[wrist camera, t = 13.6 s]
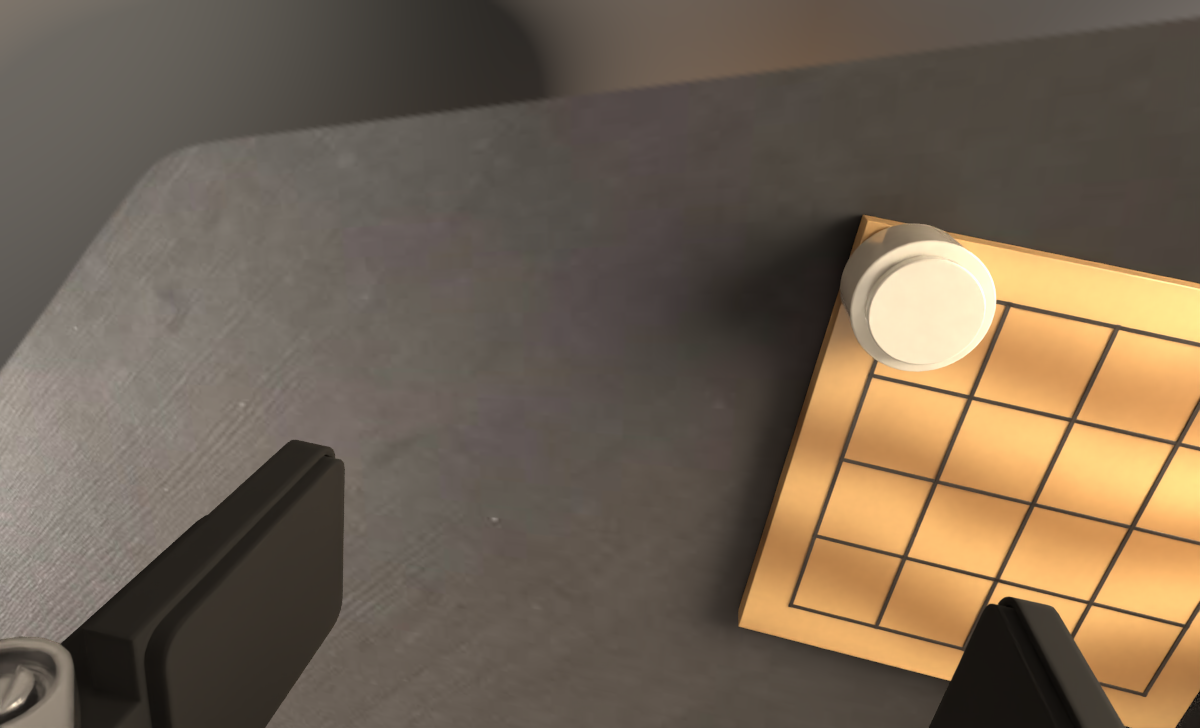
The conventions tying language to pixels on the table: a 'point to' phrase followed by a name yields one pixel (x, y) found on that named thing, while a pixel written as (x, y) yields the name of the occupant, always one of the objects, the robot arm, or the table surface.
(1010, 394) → the board
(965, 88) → the table surface
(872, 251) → the tan tin with lid
